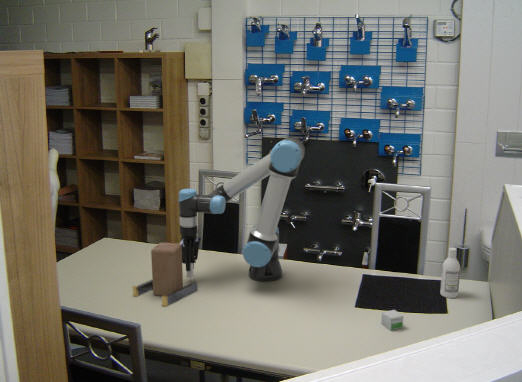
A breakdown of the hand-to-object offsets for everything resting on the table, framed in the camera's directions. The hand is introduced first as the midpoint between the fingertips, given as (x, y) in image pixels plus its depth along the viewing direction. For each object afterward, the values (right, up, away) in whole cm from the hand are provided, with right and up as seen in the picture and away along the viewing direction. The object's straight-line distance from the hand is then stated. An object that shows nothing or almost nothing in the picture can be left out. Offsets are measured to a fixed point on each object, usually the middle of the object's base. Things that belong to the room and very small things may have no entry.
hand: (190, 277), depth 237 cm
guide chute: (-8, -5, -11) cm, 15 cm away
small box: (+78, -12, -40) cm, 89 cm away
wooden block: (-8, -5, -10) cm, 14 cm away
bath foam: (+108, -5, -14) cm, 109 cm away
